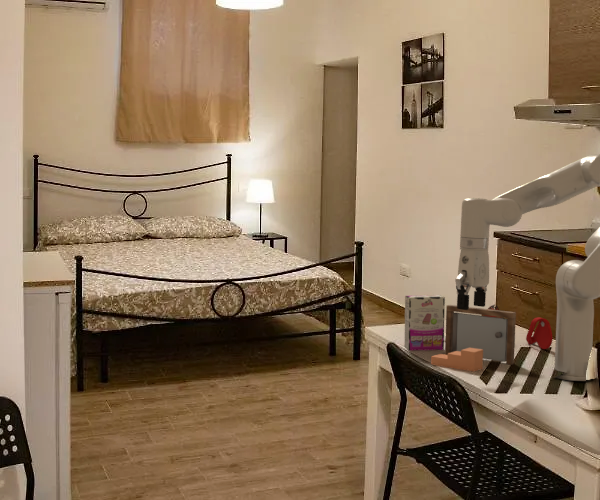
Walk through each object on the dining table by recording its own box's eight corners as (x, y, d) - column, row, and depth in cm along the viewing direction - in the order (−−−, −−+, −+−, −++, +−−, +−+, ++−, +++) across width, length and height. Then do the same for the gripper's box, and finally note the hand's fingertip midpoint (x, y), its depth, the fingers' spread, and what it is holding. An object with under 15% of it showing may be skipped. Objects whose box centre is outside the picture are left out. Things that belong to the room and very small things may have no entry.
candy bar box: (438, 348, 256) (439, 294, 254) (444, 351, 251) (445, 296, 250) (403, 348, 254) (404, 294, 252) (408, 352, 249) (409, 297, 247)
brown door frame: (513, 363, 234) (515, 312, 233) (510, 364, 233) (512, 313, 232) (448, 353, 247) (449, 304, 246) (444, 354, 246) (446, 305, 244)
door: (506, 361, 236) (508, 318, 235) (502, 362, 233) (504, 319, 232) (453, 353, 246) (455, 312, 245) (449, 354, 244) (450, 313, 243)
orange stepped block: (440, 362, 236) (440, 343, 235) (482, 369, 228) (483, 349, 227) (431, 365, 232) (431, 345, 231) (473, 372, 224) (474, 352, 223)
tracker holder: (555, 352, 252) (556, 319, 251) (542, 353, 251) (543, 320, 250) (533, 345, 264) (534, 313, 263) (520, 345, 262) (522, 314, 262)
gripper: (472, 246, 216) (469, 312, 217) (501, 244, 229) (498, 306, 231) (446, 244, 220) (443, 309, 222) (476, 242, 234) (473, 303, 235)
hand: (471, 307), depth 226 cm, fingers open, 9 cm apart
